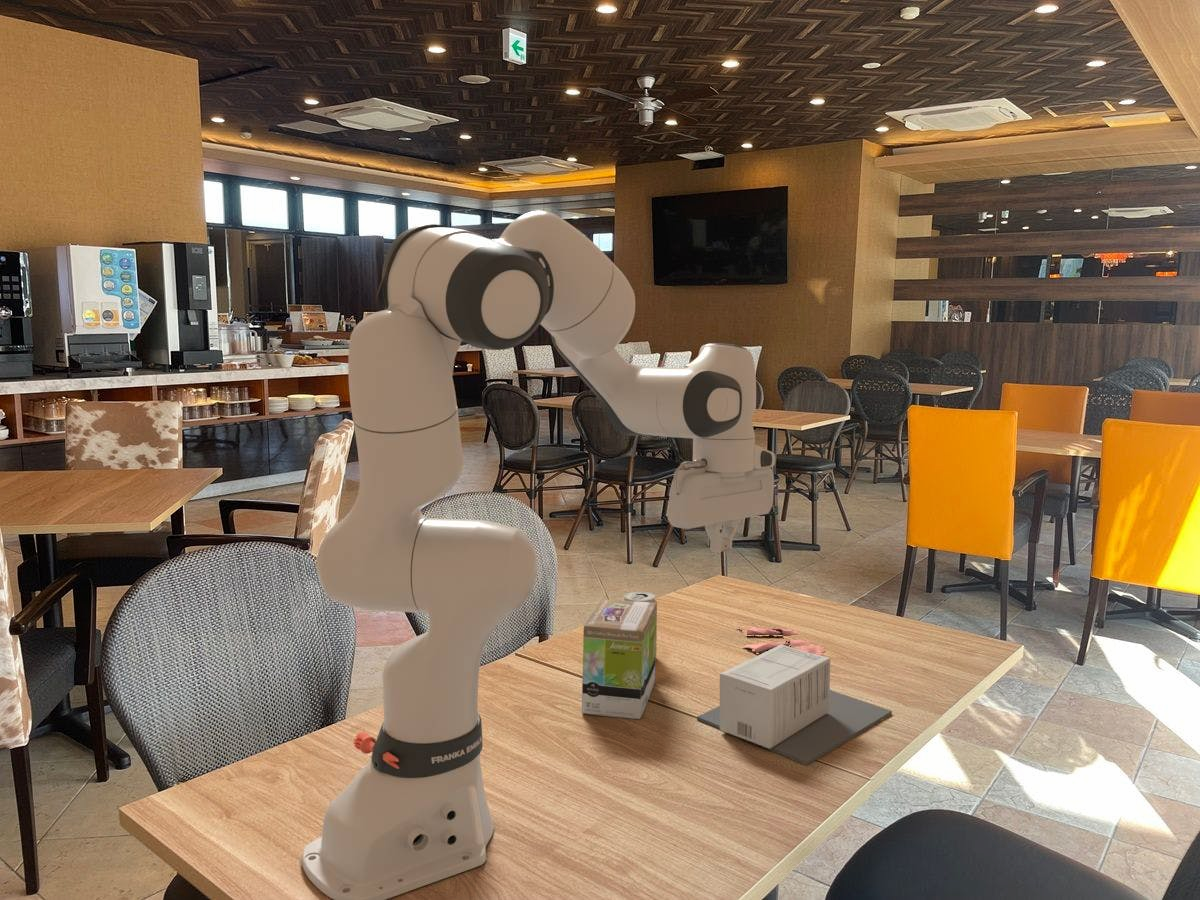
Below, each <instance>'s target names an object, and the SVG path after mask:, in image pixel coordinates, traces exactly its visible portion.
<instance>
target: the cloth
mask: <svg viewBox="0 0 1200 900" xmlns="http://www.w3.org/2000/svg"><path fill="white" fill-rule="evenodd" d="M739 628H741V630H745V629H746V628H744V627H743V626H739ZM785 629H786V628H783V629H782V627H780V628H772V629H769V630H766V629H761V628H756V627H751V626H749V627H748V629H746V630H747V635H769V636H768V637H770V636H771V637H772V636H773V635H783V636H791V635H798V633H799V632H798V633H796V632H797V631H796V630H793V631H789V630H790V629H787V630H785ZM741 630H740V631H741ZM775 630H776V631H775ZM794 631H795V632H794ZM802 640H803V639H800V640H792V639H789V640H787V642H789V643H787V642H786V641H769V642H759V643H756V644H755V643H754V644H751V643H750V644H746V645H745V646H744V647H743V648H744V649H750V650H751V649H755V652H754V653H759V654H760V653H761V654H762V653H764V652H766V650H770V649H773V648H775V647H777V646H779V645H781V644H782V645H785V646H789V645H791V647H792V648H793V647H796V646H800V645H804V646H801V647H799V648H798V650H801V651H805V652H808V653H812V654H816V655H820V656H821V655H822V653H823V651H824V647H820V646H821V645H819V646H814V645H810V646H805V644H809V642H810V641H807V640H803V641H802ZM824 652H825V651H824ZM822 656H823V655H822Z"/></svg>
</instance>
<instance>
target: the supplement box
mask: <svg viewBox="0 0 1200 900" xmlns="http://www.w3.org/2000/svg"><path fill="white" fill-rule="evenodd" d="M830 683H831V657H827V656H823V655H822V656H820V655H816V654H812V653H808V652H805V651H801V650H798V649H795V648H792V647H788V646H785V645H782V644H781V645H779V646H777V647H775V648H773V649H771V650H768V651H764V652H761V654H760V653H759V655H758V654H757V656H756V655H755V656H754V657H752V658H751V659H748V660H746V661H743V662H742V663H740V664H739V663H738V664H737V665H736V666H733V667H731V668H729V669H727V670H725V671H723V672H721V673H719V706H720V729H719V730H720V731H722V732H723V733H727V734H730V735H732V736H734V737H738V738H740V739H742V738H743V739H742V740H745V741H747V740H748V742H749V741H750V742H749V743H752V742H753V743H752V744H754V743H756V744H755V745H757V744H758V745H757V746H759V745H761V746H764V747H766V748H769V749H771V748H772V747H774V746H775V745H777V744H779V743H780V742H782V741H783V740H785V739H787V738H788V737H790V736H791V735H793V734H794V733H796V732H798V731H799V730H801V729H802V728H804V727H806V726H807V725H809V724H810V723H812V722H814V721H815V720H817V719H818V718H820V717H822V716H823V715H825V714H827V713H828V712H829V694H830V690H831V687H830V686H831V684H830ZM761 746H760V747H761ZM764 747H763V748H764ZM766 748H765V749H766Z"/></svg>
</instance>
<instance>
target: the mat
mask: <svg viewBox="0 0 1200 900" xmlns="http://www.w3.org/2000/svg"><path fill="white" fill-rule="evenodd" d="M892 714H893V711H892V710H891V709H888V708H886V707H882V706H879V705H876V704H873V703H870V702H867V701H864V700H861V699H858V698H856V697H852V696H849V695H847V694H844V693H840V692H837V691H834V690H831V689H830V694H829V712H828V713H827V714H825V715H823V716H822V717H820V718H818V719H817V720H815V721H814V722H812V723H810V724H809V725H807V726H806V727H804V728H802V729H801V730H799V731H798V732H796V733H794V734H793V735H791V736H790V737H788V738H787V739H785V740H783V741H782V742H780V743H779V744H777V745H775V746H774V747H772V748H771V749H769V748H766V747H764V746H761V745H758V744H756V743H753V742H750V741H748V740H746V741H748V742H749V743H752V744H755V745H757V746H759V747H762V748H764V749H767V750H768V751H771V752H773V753H776V754H777V755H780V756H783V757H786V758H787V759H790V760H792V761H794V762H795V761H796V762H798V763H799V764H802V765H804V766H809V765H810V764H812V763H813V762H815V761H816V760H819V759H820V758H821V757H823V756H825V755H826V754H828V753H830V752H831V751H833V750H835V749H837V748H838V747H840V746H842V745H843V744H845V743H846V742H847V741H848V742H849V740H851V739H853V738H854V737H856V736H858V735H859V734H861V733H863V732H865V731H866V730H868V729H869V728H872V726H874V725H876V724H878V723H879V722H881V721H882V720H884V719H886V718H887V717H889V716H891V715H892ZM696 720H697V721H699V722H702V723H704V724H707V725H709V726H712V727H714V728H717V729H719V730H720V705H719V706H717V707H715V708H713V709H710V710H708V711H705V712H704V713H702V714H700V715H698V716H697V717H696ZM741 739H742V740H744V739H743V738H741Z"/></svg>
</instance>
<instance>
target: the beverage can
mask: <svg viewBox="0 0 1200 900" xmlns="http://www.w3.org/2000/svg"><path fill="white" fill-rule="evenodd" d="M655 598H656V595H655V594H654V593H651V592H649V591H630V592H627V593H625V594H624V596H623V601H637V602H650V603H656V604H657V605H658V602H657V600H656V599H655ZM657 622H658V620H657V621H656V652H657V650H658V649H657V648H658V647H657V637H658V636H657V635H658V632H657V631H658V629H657V628H658V627H657V625H658V623H657Z"/></svg>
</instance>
